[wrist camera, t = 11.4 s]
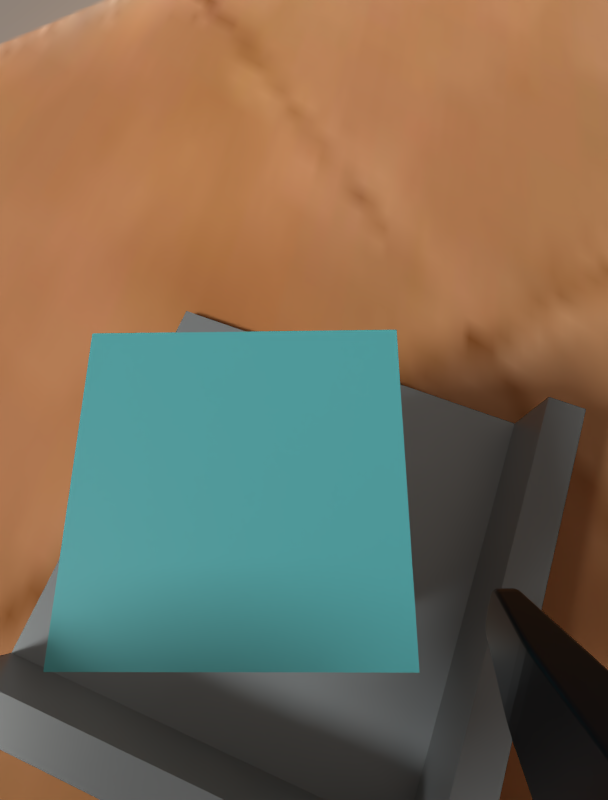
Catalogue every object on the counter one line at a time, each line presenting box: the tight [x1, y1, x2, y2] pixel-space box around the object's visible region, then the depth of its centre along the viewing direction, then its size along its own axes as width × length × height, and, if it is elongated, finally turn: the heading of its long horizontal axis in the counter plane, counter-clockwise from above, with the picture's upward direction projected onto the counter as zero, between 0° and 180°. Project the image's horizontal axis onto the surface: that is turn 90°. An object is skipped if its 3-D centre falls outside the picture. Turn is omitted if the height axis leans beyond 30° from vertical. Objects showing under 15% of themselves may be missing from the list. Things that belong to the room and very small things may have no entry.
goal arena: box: [0, 311, 586, 800], centre depth 17 cm, size 15×15×4 cm
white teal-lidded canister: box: [43, 330, 420, 673], centre depth 14 cm, size 6×6×10 cm
